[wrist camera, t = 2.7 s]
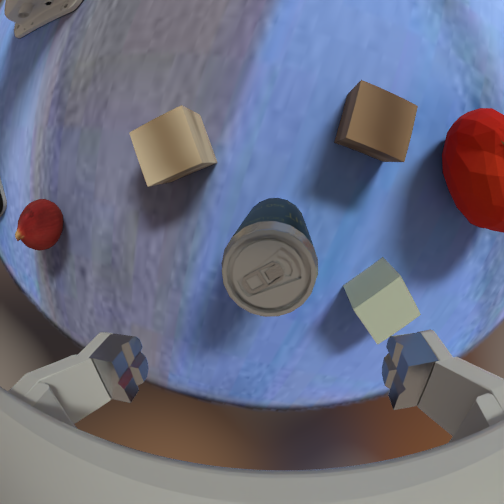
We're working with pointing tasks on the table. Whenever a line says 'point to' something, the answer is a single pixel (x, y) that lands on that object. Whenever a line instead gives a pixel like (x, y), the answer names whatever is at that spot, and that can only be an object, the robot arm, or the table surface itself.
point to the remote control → (2, 199)
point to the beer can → (270, 260)
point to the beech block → (172, 146)
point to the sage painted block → (381, 300)
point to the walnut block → (376, 123)
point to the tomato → (477, 167)
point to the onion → (40, 224)
